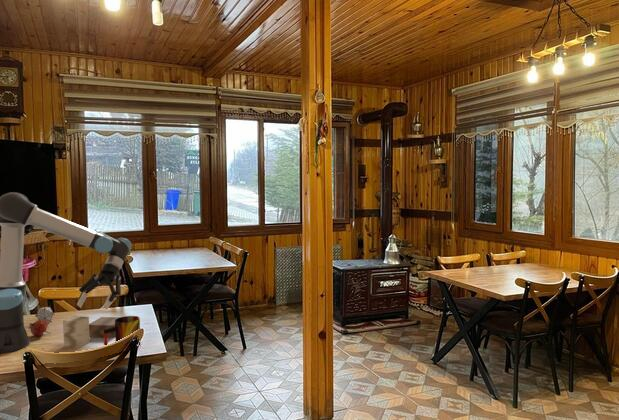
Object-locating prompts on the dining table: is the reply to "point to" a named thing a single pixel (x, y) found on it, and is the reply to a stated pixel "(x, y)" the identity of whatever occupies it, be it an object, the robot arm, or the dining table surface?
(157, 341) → the dining table surface
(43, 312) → the game die
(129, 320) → the mug
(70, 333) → the maple block
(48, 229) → the robot arm
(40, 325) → the pomegranate
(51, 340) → the dining table surface
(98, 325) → the walnut block
